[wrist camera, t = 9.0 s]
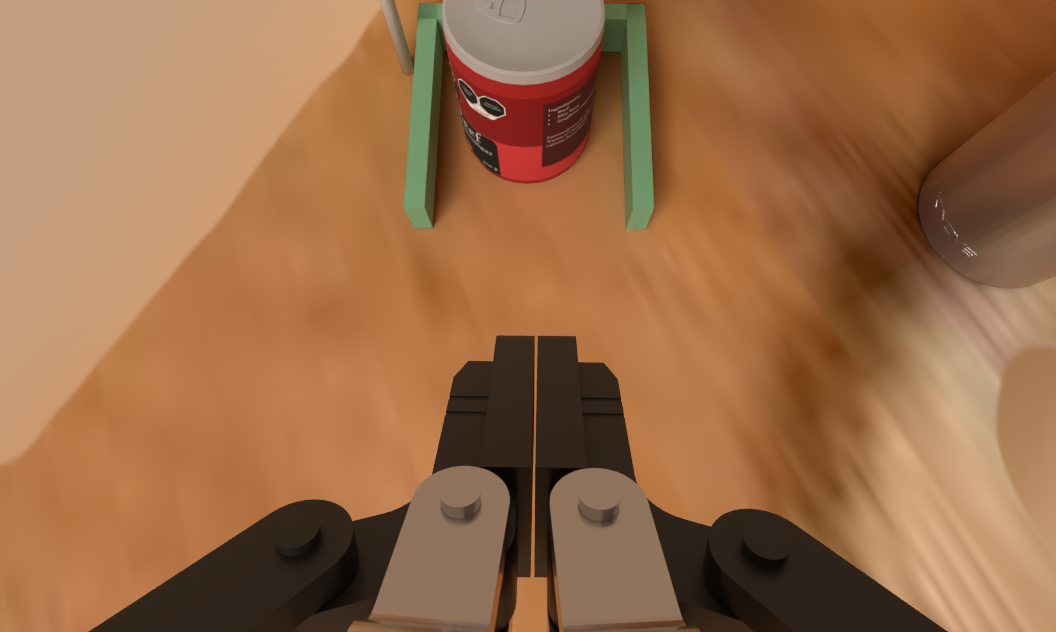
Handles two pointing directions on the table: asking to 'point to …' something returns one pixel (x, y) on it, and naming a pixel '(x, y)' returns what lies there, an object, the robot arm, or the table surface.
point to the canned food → (525, 80)
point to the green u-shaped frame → (619, 36)
